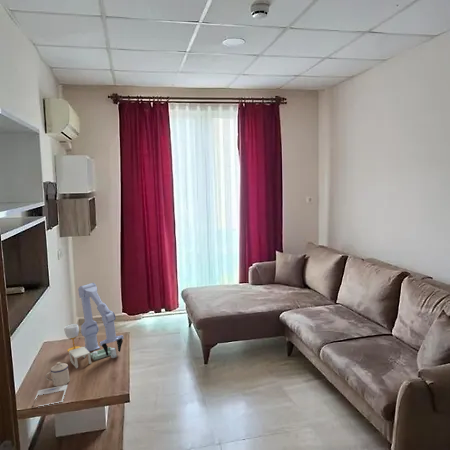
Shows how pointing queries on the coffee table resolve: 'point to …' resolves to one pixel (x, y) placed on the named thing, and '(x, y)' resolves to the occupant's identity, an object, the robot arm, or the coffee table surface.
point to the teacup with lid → (59, 374)
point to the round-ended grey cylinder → (113, 352)
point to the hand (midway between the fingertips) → (113, 353)
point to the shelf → (79, 355)
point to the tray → (99, 354)
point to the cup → (72, 334)
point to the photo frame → (52, 390)
